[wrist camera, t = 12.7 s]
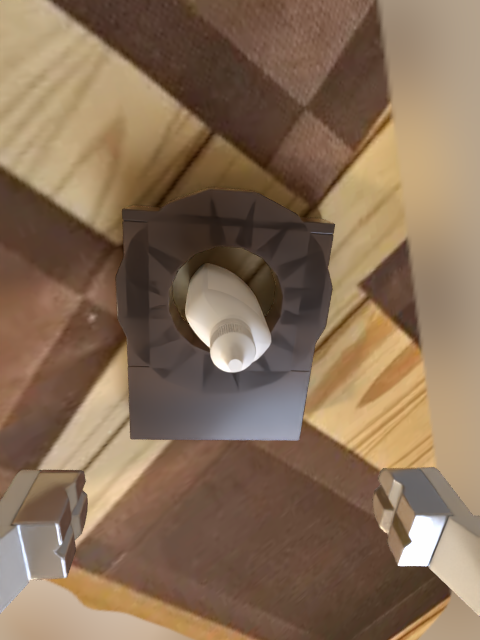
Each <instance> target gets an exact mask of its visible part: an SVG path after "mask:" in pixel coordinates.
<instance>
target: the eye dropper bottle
mask: <svg viewBox="0 0 480 640" xmlns="http://www.w3.org/2000/svg"><path fill="white" fill-rule="evenodd" d="M185 314H186V318H187V320H188V323H189V324H190V326H191V328H192V329H193V330H194V332H195V333H196V334H197V336H198V337H199V338H200V339H201V340H202V341H203V342H204V343H205V344H206V345H207V346H208V347H209V348H210V355H211V359H212V361H213V363H214V365H216V366H217V367H218V368H219V369H221V370H223V371H226V372H238V371H242V370H244V369H246V368H247V367H248V366H250V364H251V363H252V362H254V361H256V360H257V359H258V358H259V357H261V355H262V354H263V353H264V352H265V351H266V350H267V349H268V347H269V346H270V343H271V334H270V331H269V328H268V325H267V323H266V320H265V318H264V315H263V313H262V310H261V307H260V305H259V303H258V300H257V298H256V296H255V295H254V293H253V292H252V290H251V289H250V288H249V286H248V285H247V284H246V283H245V282H244V281H243V280H242V279H241V278H240V277H238V276H237V275H236V274H234V273H232V272H231V271H229V270H227V269H225V268H223V267H220V266H217V265H214V264H209V263H206V264H203V265H201V266H200V267H199V269H198V270H197V271H196V272H195V274H194V275H193V276H192V278H191V279H190V282H189V286H188V293H187V300H186V307H185Z"/></svg>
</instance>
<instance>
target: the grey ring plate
mask: <svg viewBox="0 0 480 640" xmlns="http://www.w3.org/2000/svg"><path fill="white" fill-rule="evenodd" d="M122 219H123V246H124V257H123V259H122V262H121V264H120V267H119V269H118V272H117V274H116V299H117V318H118V321H119V323H120V325H121V327H122V329H123V331H124V333H125V335H126V337H127V356H128V385H129V412H130V438H131V439H151V440H299V439H300V433H301V427H302V421H303V415H304V409H305V403H306V397H307V391H308V385H309V379H310V373H311V367H312V361H313V355H314V349H315V344H316V342H317V340H318V339H319V337H320V336H321V334H322V332H323V331H324V329H325V327H326V323H327V318H328V312H329V306H330V301H331V295H332V283H331V279H330V275H329V270H328V265H329V259H330V253H331V247H332V241H333V233H334V228H335V224H334V223H331V222H329V221H326V220H324V219H319V218H305V217H299V216H298V215H297V214H296V213H294V212H292V211H290V210H289V209H287V208H285V207H283V206H281V205H279V204H278V203H276V202H274V201H272V200H270V199H268V198H266V197H265V196H263V195H261V194H259V193H257V192H254V191H252V190H241V189H228V188H216V187H208V188H205V189H203V190H200V191H197V192H194V193H191V194H188V195H185V196H183V197H180V198H177V199H174V200H171V201H169V202H168V203H167V204H165V205H164V206H163V207H152V206H138V205H131V206H128V207H126V208H124V209H122ZM217 246H222V247H238V248H243V249H245V250H247V251H249V252H251V253H253V254H255V255H257V256H259V257H262V258H263V259H264V261H265V262H266V263H267V264H268V265H269V267H270V268H271V270H272V274H273V277H274V280H275V284H276V285H275V294H274V303H273V305H272V307H271V308H270V310H269V312H268V314H267V316H266V317H265V320H266V323H267V325H268V328H269V331H270V334H271V343H270V346H269V347H268V349H267V350H266V351H265V352H264V353H263V354H262V355H261V357H259V358H258V359H257V360H256V361H254V362H252V363H251V364H250V366H248V367H247V368H246V369H244V370H242V371H238V372H226V371H223V370H221V369H219V368H218V367H217V366H216V365H214V363H213V361H212V359H211V355H210V348H209V347H208V346H207V345H206V344H205V343H204V342H203V341H202V340H201V339H200V338H199V337H198V336H197V334H196V333H195V332H194V330H193V329H192V328H191V327H190V326H189V325H188V324H187V323H186V322H185V321H184V320H183V319H182V318H181V317H180V315H179V313H178V310H177V308H176V305H175V303H174V301H173V298H172V297H173V280H174V278H175V276H176V274H177V272H178V270H179V268H181V267H182V266H183V265H184V264H185V263H186V262H187V261H188V260H190V259H191V258H192V257H193V256H194V255H195V254H197V253H200V252H203V251H206V250H209V249H212V248H214V247H217Z"/></svg>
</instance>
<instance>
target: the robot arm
mask: <svg viewBox="0 0 480 640" xmlns="http://www.w3.org/2000/svg"><path fill="white" fill-rule="evenodd" d="M378 480H379V482H380V484H381V485H380V486H379V487H378V488H377V489H376V490H375V491H374V495H373V499H372V503H373V512H374V516H375V519H376V521H377V523H378V525H379V527H380V528H381V529H383V530H384V531H385V532H386V533H387V534H388V537H387V541H386V542H387V544H388V546H389V548H390V550H391V552H392V554H393V557H394V559H395V561H396V563H397V565H398V566H429V568H430V569H431V570H432V571H433V572H434V573H435V574H436V575H437V576H438V577H439V578H440V579H441V580H442V581H443V582H444V583H445V584H446V585H447V586H448V587H450V588H451V589H452V590H453V591H454V592H455V593H456V594H457V595H458V596H459V597H460V598H461V599H462V600H463V601H464V602H465V603H466V604H467V605H468V606H469V607H470V608H471V609H472V610H473V611H474V612H475V613H477V614H478V615H479V616H480V516H473V514H472V513H471V512H470V511H469V509H468V508H467V507H466V505H465V504H464V503H463V501H462V500H461V499H460V497H459V496H458V495H457V494H456V492H455V491H454V490H453V488H452V487H451V486H450V484H449V483H448V482H447V481H446V479H445V478H444V477H443V476H442V474H441V473H440V471H439V470H437V469H436V468H434V467H427V468H383V469H382V470H381V471H380V473H379V477H378ZM85 482H86V481H85V474H84V471H82V470H21V471H20V472H19V473H18V474H16V476H15V478H14V479H13V481H12V482H11V484H10V486H9V487H8V489H7V491H6V492H5V494H4V496H3V497H2V499H1V500H0V613H1V612H2V611H3V610H4V609H5V608H6V607H7V606H8V605H9V604H10V603H11V601H12V600H13V599H14V598H15V597H16V596H17V595H18V594H19V593H20V592H21V591H22V590H23V588H24V587H25V586H26V585H27V584H28V583H29V581H28V580H42V579H57V578H67V576H68V573H69V570H70V567H71V564H72V561H73V558H74V555H75V552H76V547H75V540H76V539H77V538H78V537H79V536H80V535H81V534H82V531H83V528H84V525H85V521H86V515H87V506H88V500H87V494H86V493H85V492H84V491H83V487H84V484H85Z"/></svg>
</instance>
